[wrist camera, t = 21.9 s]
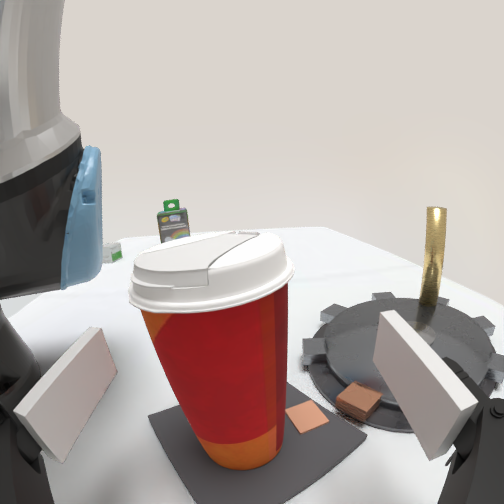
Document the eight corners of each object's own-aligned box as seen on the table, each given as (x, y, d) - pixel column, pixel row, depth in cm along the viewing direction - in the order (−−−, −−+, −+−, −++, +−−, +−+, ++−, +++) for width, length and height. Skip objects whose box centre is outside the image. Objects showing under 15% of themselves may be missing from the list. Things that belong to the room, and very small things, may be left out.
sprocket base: (263, 358, 27) (262, 354, 26) (378, 294, 38) (378, 291, 38) (456, 472, 9) (459, 468, 9) (507, 333, 20) (508, 330, 20)
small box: (112, 263, 70) (109, 246, 68) (98, 263, 71) (95, 247, 70) (123, 257, 75) (120, 241, 74) (109, 258, 76) (107, 242, 75)
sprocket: (401, 480, 10) (489, 281, 6) (270, 329, 31) (263, 213, 27) (526, 345, 16) (553, 228, 13) (405, 288, 37) (410, 201, 34)
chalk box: (190, 242, 88) (185, 197, 84) (192, 248, 79) (186, 198, 76) (162, 246, 86) (157, 201, 82) (161, 252, 77) (154, 202, 73)
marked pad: (149, 420, 18) (146, 414, 18) (267, 371, 24) (266, 365, 24) (221, 535, 8) (218, 532, 8) (365, 439, 15) (367, 433, 14)
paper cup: (238, 391, 21) (210, 226, 17) (318, 426, 16) (322, 231, 12) (167, 445, 15) (95, 261, 12) (250, 504, 10) (189, 295, 7)
